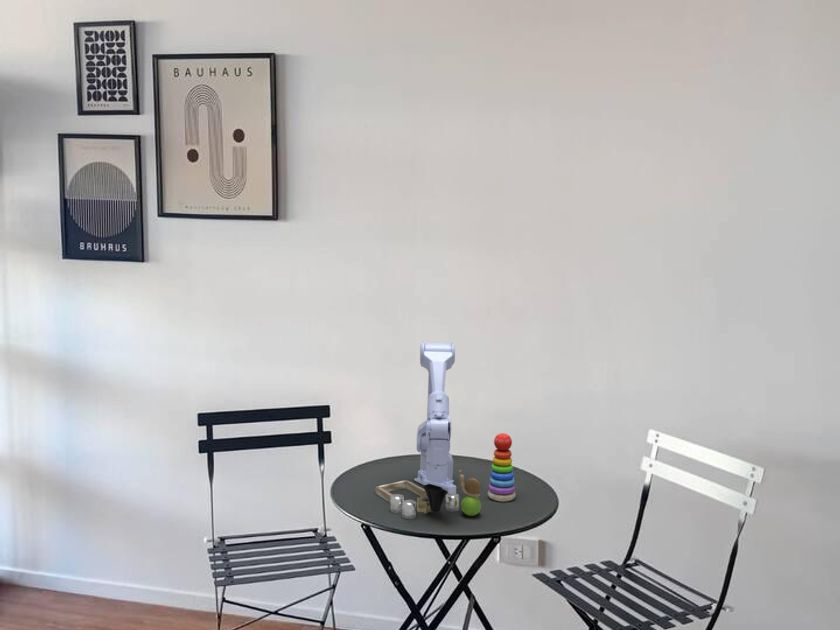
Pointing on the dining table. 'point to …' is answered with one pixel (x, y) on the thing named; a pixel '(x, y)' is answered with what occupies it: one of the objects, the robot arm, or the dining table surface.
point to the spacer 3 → (452, 502)
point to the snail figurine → (470, 495)
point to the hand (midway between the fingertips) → (435, 511)
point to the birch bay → (385, 489)
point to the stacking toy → (502, 470)
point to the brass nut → (423, 504)
